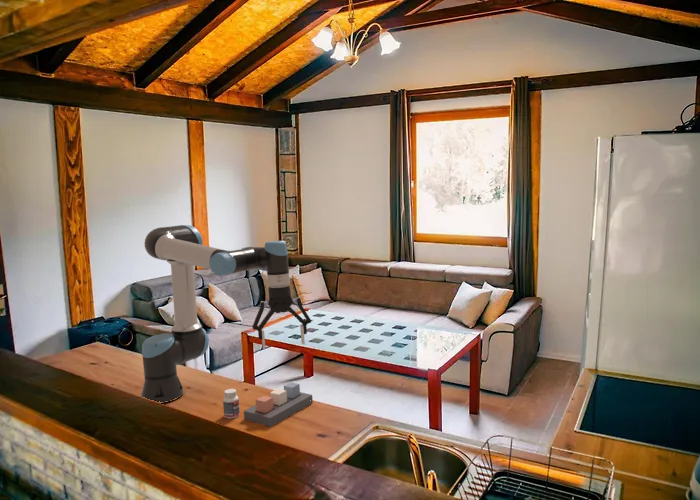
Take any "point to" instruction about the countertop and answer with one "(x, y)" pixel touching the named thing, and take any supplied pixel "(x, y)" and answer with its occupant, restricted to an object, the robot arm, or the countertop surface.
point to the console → (278, 410)
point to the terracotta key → (264, 404)
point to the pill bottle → (231, 404)
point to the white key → (279, 396)
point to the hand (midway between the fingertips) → (283, 345)
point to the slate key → (292, 390)
